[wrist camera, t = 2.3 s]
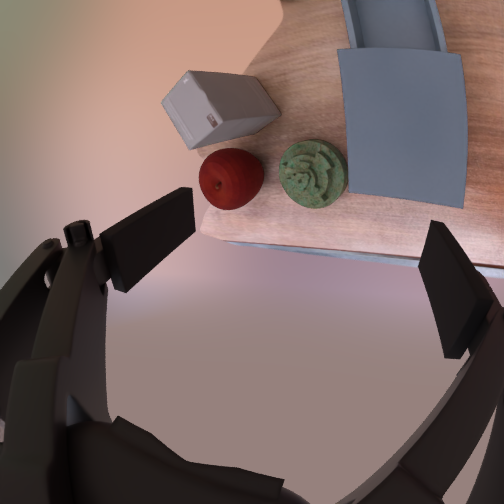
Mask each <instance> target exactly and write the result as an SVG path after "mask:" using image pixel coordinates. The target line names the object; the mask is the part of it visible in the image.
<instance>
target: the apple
mask: <svg viewBox="0 0 504 504" xmlns="http://www.w3.org/2000/svg"><path fill="white" fill-rule="evenodd" d="M263 180H264V171H263V168H262V165H261V163H260V162H259V160H258V159H257V158H256V157H255V156H254V155H252V154H251V153H249V152H247V151H244V150H242V149H236V148H225V149H220V150H218V151H215V152H213V153H212V154H210V155H209V156H208V157H207V158H206V159H205V160H204V162H203V164H202V166H201V168H200V172H199V184H200V187H201V190H202V192H203V194H204V196H205V197H206V199H207V200H208V201H209V202H210V203H211V204H212V205H213V206H215V207H217V208H219V209H223V210H233V209H237V208H240V207H242V206H244V205H245V204H247V203H248V202H249V201H251V200H252V199H253V198H254V197H255V196H256V194H257V193H258V192H259V190H260V188H261V186H262V183H263Z"/></svg>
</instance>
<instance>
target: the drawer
mask: <svg viewBox="0 0 504 504" xmlns="http://www.w3.org/2000/svg"><path fill="white" fill-rule="evenodd" d="M341 3H342V8H343V12H344V17H345V21H346V26H347V31H348V37H349V42H350V48H407V49H422V50H432V51H441V52H447V46H446V41H445V37H444V32H443V28H442V24H441V20H440V16H439V12H438V9H437V5H436V2H435V0H341Z"/></svg>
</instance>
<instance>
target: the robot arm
mask: <svg viewBox="0 0 504 504" xmlns="http://www.w3.org/2000/svg"><path fill="white" fill-rule="evenodd" d="M192 192H193V191H192V188H188V187H181V188H178V189H177V190H175V191H173V192H171V193H169V194H167V195H166V196H163V197H161V198H160V199H158V200H156V201H154V202H153V203H151V204H149V205H147V206H145V207H144V208H142V209H140V210H138V211H137V212H135V213H133V214H131V215H130V216H128V217H126V218H125V219H123V220H121V221H120V222H118V223H116V224H115V225H113V226H111V227H110V228H108V229H107V230H105V231H103V232H102V233H100V234H99V235H100V236H99V237H98V238H96V239H95V240H94V238H93V234H92V230H91V226H90V221H88V220H79V221H76V222H73V223H70V224H69V225H67V226H65V228H64V229H63V230H64V234H65V237H66V241H67V244H68V247H67V248H62V246H61V243H60V239H57V238H53V239H51V238H50V239H47V240H45V241H44V242H43V243H41V244H40V245H39V246H38V247H37V248H36V249H35V250H34V251H33V252H32V253H31V254H30V256H29V257H28V258H27V259H26V260H25V261H24V262H23V263H22V264H21V266H20V267H19V268H18V269H17V270H16V271H15V273H14V274H13V275H12V276H11V278H10V279H9V280H8V281H7V282H6V284H5V285H4V286H3V288H2V289H1V290H0V504H310V503H309V502H307V501H306V500H305V499H303V498H302V497H301V496H299V495H297V494H295V493H294V492H292V491H290V490H288V489H286V488H284V487H282V486H283V483H284V479H280V478H276V477H271V476H267V475H263V474H258V473H255V472H251V471H247V470H244V469H241V468H237V467H236V468H235V467H225V466H216V465H208V464H200V463H194V462H189V461H186V460H184V459H183V458H181V457H180V456H179V455H177V454H176V453H175V452H173V451H172V450H171V449H169V448H168V447H167V446H166V445H165V444H163V443H162V442H161V441H160V440H158V439H157V438H156V437H155V436H154V435H153V434H151V433H149V432H148V431H146V430H144V429H142V428H140V427H138V426H136V425H134V424H132V423H130V422H129V421H127V420H125V419H123V418H122V417H120V416H117V418H116V419H115V420H114V422H113V423H112V420H111V418H110V416H109V413H108V407H107V393H106V368H105V337H106V311H107V296H108V287H107V284H106V282H107V281H108V280H109V279H110V278H111V280H112V283H113V286H114V289H115V290H118V291H121V292H124V293H127V292H128V291H129V290H130V289H131V288H132V287H133V286H134V285H135V284H136V283H138V282H139V281H140V280H141V279H142V278H143V277H144V276H145V275H146V274H148V273H149V272H150V271H151V270H152V269H153V268H154V267H155V266H156V265H158V264H159V263H160V262H161V261H162V260H163V259H164V258H165V257H167V256H168V255H169V254H170V253H171V252H172V251H173V250H175V249H176V248H177V247H178V246H179V245H180V244H181V243H183V242H184V241H185V240H186V239H187V238H188V237H190V236H191V235H192V234H193V233H194V232H195V231H196V229H195V218H194V205H193V193H192ZM418 268H419V271H420V273H421V276H422V279H423V282H424V285H425V288H426V291H427V294H428V297H429V300H430V303H431V307H432V310H433V314H434V317H435V321H436V324H437V328H438V332H439V336H440V340H441V344H442V349H443V353H444V358H449V359H461V357H462V356H463V354H464V352H465V351H466V349H467V348H468V350H469V353H470V356H469V358H468V360H467V361H466V362H465V364H464V365H463V367H462V368H461V369H460V371H459V372H458V373H457V377H456V378H455V380H454V381H453V383H452V384H451V386H450V387H449V389H448V390H447V391H446V393H445V394H444V396H443V397H442V398H441V400H440V401H439V403H438V404H437V405H436V407H435V408H434V409H433V410H432V412H431V413H430V414H429V416H428V417H427V418H426V419H425V421H424V422H423V423H422V424H421V425H420V427H419V428H418V429H417V430H416V431H415V432H414V434H413V435H412V436H411V437H410V438H409V439H408V440H407V441H406V443H405V444H404V445H403V446H402V447H401V448H400V449H399V450H398V451H397V452H396V453H395V454H394V455H393V456H392V457H391V458H390V459H389V460H388V461H387V462H386V463H385V464H384V465H383V466H382V467H381V468H380V469H379V470H378V471H376V472H375V473H374V474H373V475H372V476H371V477H370V478H369V479H367V480H366V481H365V482H364V483H363V484H362V485H360V486H359V487H358V488H357V489H355V490H354V491H353V492H352V493H350V494H349V495H347V496H346V497H345V498H343V499H342V500H340V501H339V502H337V503H336V504H444V502H443V500H442V498H443V495H444V494H445V492H446V491H447V489H448V488H449V487H450V485H451V484H452V483H453V481H454V480H455V478H456V477H457V475H458V474H459V473H460V471H461V470H462V468H463V467H464V465H465V464H466V462H467V460H468V459H469V457H470V455H471V454H472V452H473V450H474V449H475V447H476V445H477V444H478V442H479V440H480V438H481V436H482V434H483V433H484V431H485V429H486V427H487V425H488V423H489V421H490V419H491V416H492V414H493V412H494V410H495V408H496V406H497V409H496V414H495V419H494V423H493V428H492V432H491V435H490V439H489V443H488V446H487V450H486V453H485V456H484V459H483V462H482V465H481V468H480V471H479V474H478V476H477V479H476V482H475V484H474V487H473V489H472V491H471V494H470V496H469V499H468V501H467V503H466V504H504V307H502V306H501V304H500V303H499V301H498V299H497V297H496V295H495V294H494V292H493V290H492V288H491V287H490V286H489V283H488V282H487V280H486V279H485V277H484V276H483V275H482V274H481V273H480V272H479V271H477V270H476V269H475V267H474V266H473V264H472V263H471V261H470V259H469V258H468V256H467V255H466V253H465V252H464V250H463V249H462V248H461V246H460V245H459V243H458V242H457V240H456V239H455V238H454V236H453V235H452V233H451V232H450V231H449V229H448V228H447V227H446V225H445V224H444V223H443V222H438V221H434V220H431V223H430V227H429V230H428V234H427V238H426V242H425V245H424V249H423V252H422V255H421V259H420V262H419V265H418ZM45 273H46V276H47V278H48V281H49V283H50V286H49V288H47V286H46V284H45V281H44V276H45Z"/></svg>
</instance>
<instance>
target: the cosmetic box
mask: <svg viewBox="0 0 504 504" xmlns="http://www.w3.org/2000/svg"><path fill="white" fill-rule="evenodd" d="M161 104H162V106H163V107H164V109H165V111H166V112H167V114H168V116H169V117H170V119H171V121H172V122H173V124H174V126H175V127H176V129H177V131H178V132H179V134H180V136H181V137H182V139H183V140H184V142H185V144H186V146H187V147H188V149H189V150H192V149H196V148H200V147H203V146H207V145H211V144H215V143H219V142H223V141H227V140H231V139H235V138H240V137H244V136H248V135H254V134H255V133H257V132H258V131H259V130H261V129H262V128H263V127H265V126H266V125H268V124H269V123H271V122H272V121H273V120H275V119H276V118H278V117H279V116H281V113H280V111H279V110H278V108H277V107H276V106H275V104H274V103H273V101H272V100H271V98H270V97H269V96H268V94H267V93H266V91H265V90H264V88H263V87H262V86H261V84H260V83H259V82H258V80H257V79H256V78H255V77H253V76H246V75H238V74H229V73H218V72H205V71H189V70H188V71H187V72H186V73H185V74H184V76H183V77H182V78H181V79H180V80H179V81H178V82H177V83H176V85H175V86H174V87H173V88H172V89H171V91H170V92H169V93H168V94H167V95H166V96H165V98H164V99H163V100H162V102H161Z"/></svg>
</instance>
